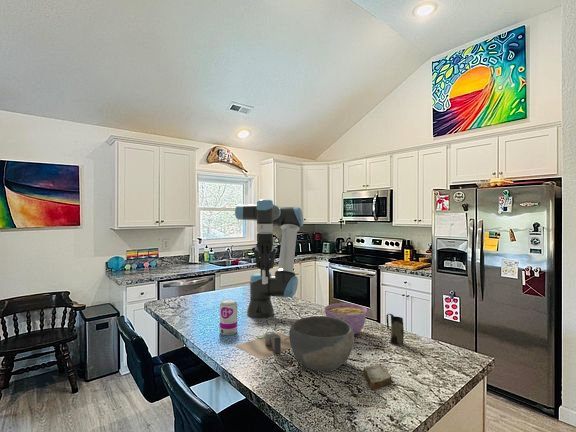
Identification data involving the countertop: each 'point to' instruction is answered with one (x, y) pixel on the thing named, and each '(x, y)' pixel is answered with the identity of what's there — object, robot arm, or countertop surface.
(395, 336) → the mug
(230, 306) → the supplement can
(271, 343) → the peg key
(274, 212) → the robot arm
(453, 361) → the countertop surface
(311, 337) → the bowl
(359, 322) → the bowl of food
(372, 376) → the stone
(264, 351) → the board
